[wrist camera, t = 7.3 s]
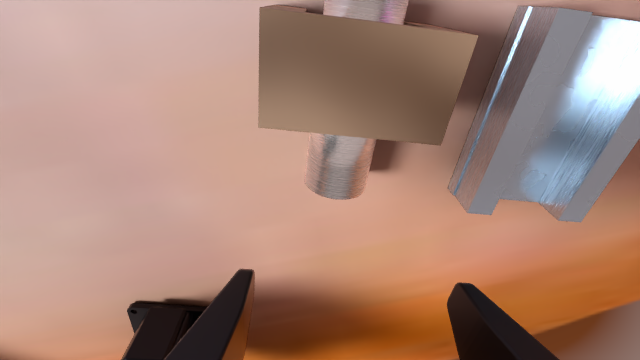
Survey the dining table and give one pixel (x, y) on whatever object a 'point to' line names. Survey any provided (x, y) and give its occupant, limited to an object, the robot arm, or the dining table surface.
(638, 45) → the cradle
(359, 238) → the dining table surface
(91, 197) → the dining table surface
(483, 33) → the dining table surface
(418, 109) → the brown boxy piece
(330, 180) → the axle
